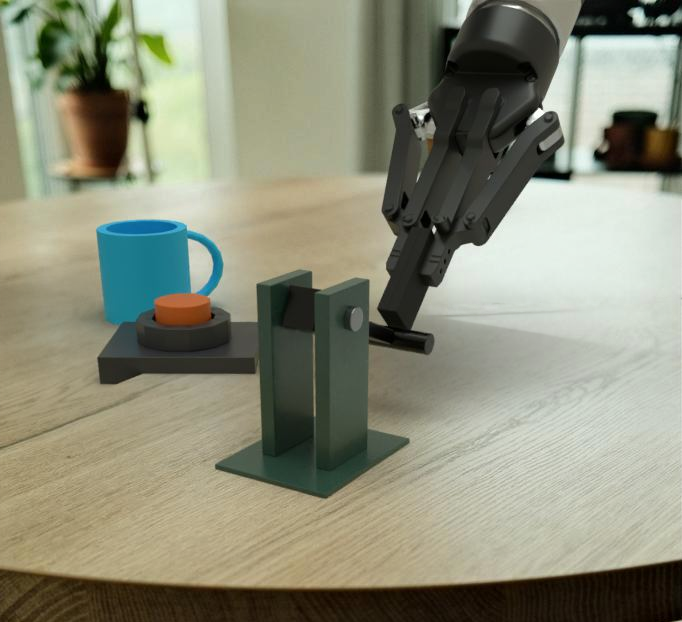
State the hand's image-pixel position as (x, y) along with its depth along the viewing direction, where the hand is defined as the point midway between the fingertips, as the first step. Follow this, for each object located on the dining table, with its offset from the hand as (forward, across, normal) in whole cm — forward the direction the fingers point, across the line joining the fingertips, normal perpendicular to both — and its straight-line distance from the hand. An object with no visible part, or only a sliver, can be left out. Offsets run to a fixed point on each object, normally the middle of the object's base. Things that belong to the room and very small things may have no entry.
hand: (393, 320), depth 68 cm
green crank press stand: (+12, 0, +2) cm, 12 cm away
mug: (-5, +32, -15) cm, 36 cm away
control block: (+3, +20, -7) cm, 22 cm away
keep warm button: (+1, +20, -4) cm, 21 cm away
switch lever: (+4, 0, +4) cm, 6 cm away
